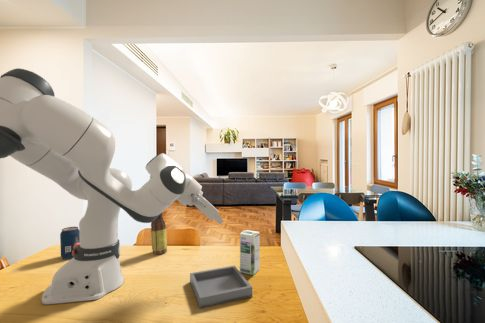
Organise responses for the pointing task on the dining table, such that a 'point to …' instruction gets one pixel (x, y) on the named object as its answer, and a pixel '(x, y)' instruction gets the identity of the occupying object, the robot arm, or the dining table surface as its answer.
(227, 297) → the tray
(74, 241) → the soda can
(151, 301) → the dining table surface
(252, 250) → the syrup box
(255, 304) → the dining table surface
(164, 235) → the sauce bottle
